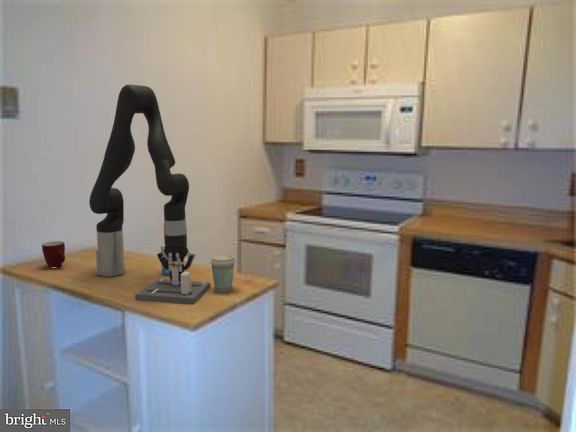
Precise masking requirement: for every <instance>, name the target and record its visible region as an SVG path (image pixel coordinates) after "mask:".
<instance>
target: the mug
mask: <svg viewBox="0 0 576 432" xmlns="http://www.w3.org/2000/svg"><path fill="white" fill-rule="evenodd" d="M41 250H42V254H43V258H44V262H45V263H46V265H47V266H48V268H49V267H60V266H61V267H62V265H63V264H64V262H65V261H66V255H65V253H66V246H65V242H64V241H61V240H60V241H58V240H57V241H48V242H44V243H42V244H41ZM61 267H60V268H61Z"/></svg>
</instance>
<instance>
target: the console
mask: <svg viewBox="0 0 576 432" xmlns="http://www.w3.org/2000/svg"><path fill="white" fill-rule="evenodd" d="M210 289H211V282H210V281H209V282H208V281H194V280H191V292H190V293H189V294H181V283H180V284H179V285H172V281H171V280H170V279H163V278H162V279H159V278H157V279H155V280H154V281H152V282H151V283H149V284H148V285H146V286H145V287H144V288H142V289H141V290H139V291H138V292H136V293H135V294H134V297H135V301H144V302H154V303H155V302H157V303H167V304H168V303H169V304H170V303H173V304H186V305H195V303H196V302H198V301H199V300H200V298H202V297H203V296H204V295H205V294H206V293H207V292H208V291H209V290H210Z"/></svg>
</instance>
